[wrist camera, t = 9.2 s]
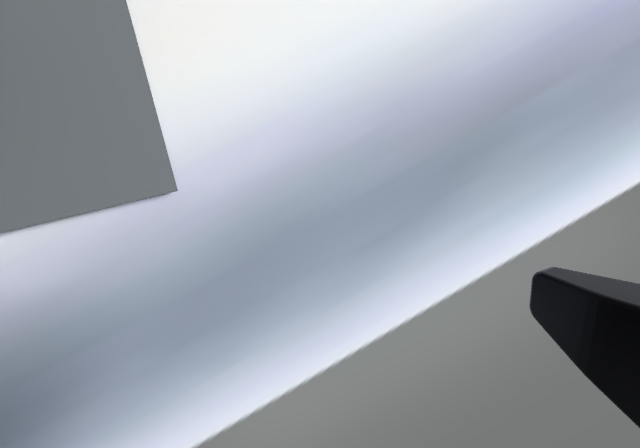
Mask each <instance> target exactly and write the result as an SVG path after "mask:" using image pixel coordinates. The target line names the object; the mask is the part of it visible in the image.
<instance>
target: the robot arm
mask: <svg viewBox="0 0 640 448" xmlns="http://www.w3.org/2000/svg"><path fill="white" fill-rule="evenodd" d="M530 310H531V313H532V315H533V317H534V318H535V319H536V320H537V321H538V323H539V324H540V325H541V326H542V327H543V328H544V329H545V331H546V332H547V333H548V334H549V335H550V336H551V337H552V339H553V340H554V341H555V342H556V343H557V344H558V345H559V346H560V348H561V349H562V350H563V351H564V352H565V353H566V354H567V356H568V357H569V358H570V359H571V360H572V361H573V362H574V364H575V365H576V366H577V367H578V368H579V369H580V370H581V371H582V373H583V374H584V375H585V376H586V377H587V378H588V379H589V380H590V381H591V382H592V383H593V384H594V385H595V386H596V387H597V388H598V389H599V390H601V391H602V392H603V393H604V394H605V395H606V396H607V397H608V398H609V399H610V400H611V401H612V402H613V403H614V404H615V405H616V406H617V407H618V408H619V409H620V410H621V411H622V412H623V413H624V414H626V415H627V416H628V417H629V418H630V419H631V420H632V421H633V422H634V423H635V424H636V425H637V426H638V427H639V428H640V284H637V283H632V282H627V281H622V280H617V279H612V278H607V277H602V276H597V275H592V274H587V273H582V272H577V271H572V270H567V269H561V268H556V267H551V268H547V269H545V270H542V271H539V272H537V273H535V274H534V276H533V278H532V285H531V295H530Z"/></svg>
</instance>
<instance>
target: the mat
mask: <svg viewBox="0 0 640 448" xmlns="http://www.w3.org/2000/svg"><path fill="white" fill-rule="evenodd" d="M175 191H178V190H177V187H176V183H175V179H174V176H173V172H172V168H171V165H170V161H169V157H168V154H167V150H166V146H165V143H164V139H163V135H162V131H161V128H160V124H159V120H158V117H157V113H156V109H155V106H154V102H153V98H152V95H151V91H150V87H149V84H148V80H147V76H146V73H145V69H144V65H143V62H142V58H141V54H140V50H139V47H138V43H137V39H136V36H135V32H134V28H133V25H132V21H131V17H130V14H129V10H128V6H127V3H126V0H0V233H4V232H8V231H12V230H17V229H21V228H25V227H29V226H33V225H37V224H42V223H46V222H50V221H54V220H58V219H63V218H67V217H71V216H75V215H79V214H83V213H88V212H92V211H96V210H100V209H104V208H108V207H113V206H117V205H121V204H125V203H129V202H134V201H138V200H142V199H146V198H150V197H154V196H159V195H163V194H167V193H171V192H175Z"/></svg>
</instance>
